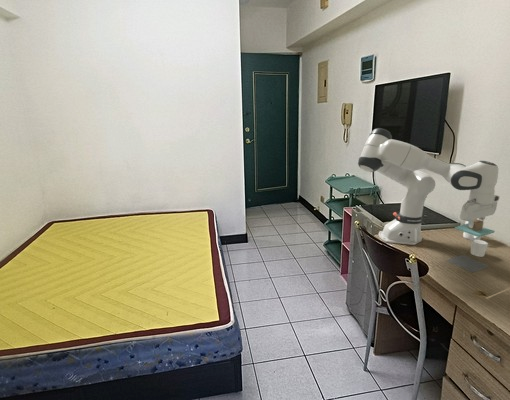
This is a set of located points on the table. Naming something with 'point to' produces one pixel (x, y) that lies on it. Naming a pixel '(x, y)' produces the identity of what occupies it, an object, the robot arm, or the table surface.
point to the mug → (470, 236)
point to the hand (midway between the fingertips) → (475, 226)
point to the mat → (467, 263)
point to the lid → (475, 229)
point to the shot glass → (478, 247)
